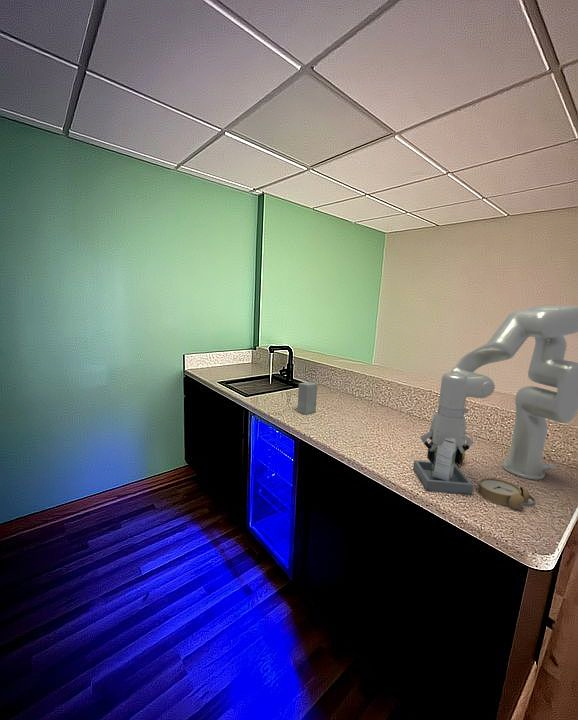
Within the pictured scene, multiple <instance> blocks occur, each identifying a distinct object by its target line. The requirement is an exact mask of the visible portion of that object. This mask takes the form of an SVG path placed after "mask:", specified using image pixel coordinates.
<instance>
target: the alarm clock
mask: <svg viewBox="0 0 578 720" xmlns="http://www.w3.org/2000/svg"><path fill="white" fill-rule="evenodd" d="M474 489H476V490H477V491H478V494H479V495H480V496H481V497H482V498H484V499H485V500H487V501H490V502H491V503H495V504H498V505H503V506H509V507H510V508H511V509H513V510H521V509H523V507H529V508H530V507H534V506H536V504H537V503H536V501H537V500H536V498H535V497H534V496H532V495H531V494H530V492H529V491H528V489H527V488H526V487H525V486H524V487H523V486H520V487H518V485H516V484H514V483H512V482H510V481H507V480H503V479H500V478H493V477H492V478H490V477H485V478H481V479H479V480H478V486H475V487H474ZM529 500H531V501H532V502H529Z"/></svg>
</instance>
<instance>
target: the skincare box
mask: <svg viewBox="0 0 578 720" xmlns="http://www.w3.org/2000/svg"><path fill="white" fill-rule="evenodd" d="M317 392H318V383H314V382H310V381H307V382H305V381H304V382H300V383H298V393H297V395H298V396H297V397H298V398H297V412H299V413H300V414H303V415H305V416H307V415H310V414H314V413H316V412H317V398H318V393H317Z"/></svg>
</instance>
